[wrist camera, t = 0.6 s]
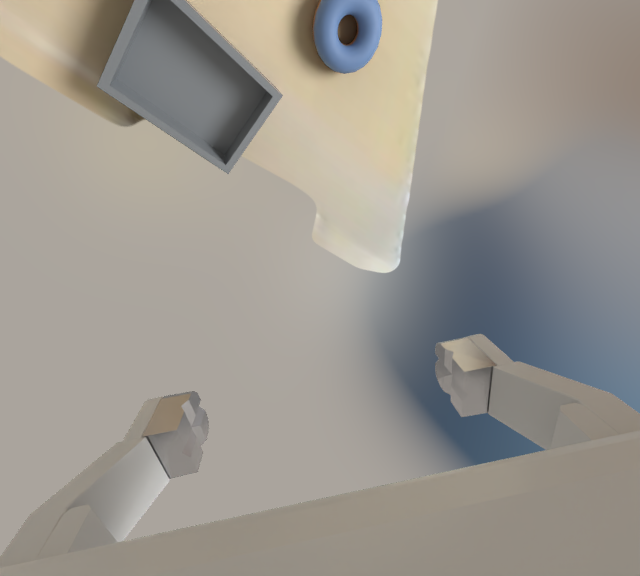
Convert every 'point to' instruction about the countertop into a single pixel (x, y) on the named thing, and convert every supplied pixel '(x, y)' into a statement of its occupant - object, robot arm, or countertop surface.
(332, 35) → the doughnut
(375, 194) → the countertop surface
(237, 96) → the bin
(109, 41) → the countertop surface
